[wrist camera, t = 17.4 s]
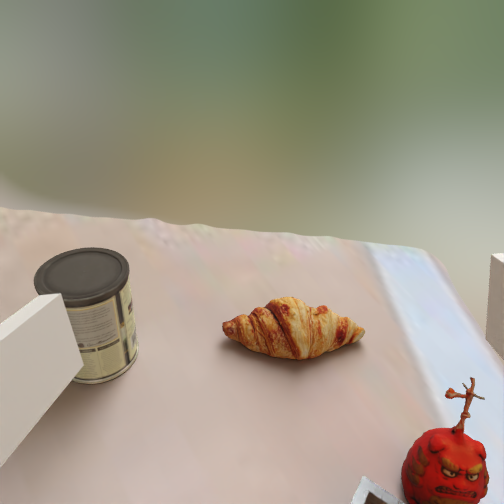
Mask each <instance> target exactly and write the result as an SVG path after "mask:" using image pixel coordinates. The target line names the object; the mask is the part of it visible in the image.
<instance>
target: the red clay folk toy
mask: <svg viewBox="0 0 504 504" xmlns="http://www.w3.org/2000/svg"><path fill="white" fill-rule="evenodd" d="M470 379H471V383H472V384H471V385H472V386H471V387H470V388H469V389H468V388H467V387H466V385H465V384H464V383H462V384H463V386H464V387H465V388H466V389H467V390H466V394H465V395H462V394H460V393H456V392H455V391H454V390H453V389H452V388H449V389H448V390H447V391H446V394H445V397H446V398H449V399H452V398H454V397H461V398H466V402H465V406H464V411H463V412H462V413H461V420H460V421H459V423H458V424H457V425H456V426H454V427H452V428H436V429H432V430H428V431H427V432H425V433H423V435H422V436H421V437H420V438H418V439H417V440H416V441H415V442H414V444H413V446H412V447H411V448H410V450H409V452H408V454H407V457H406V459H405V461H404V463H403V466H402V472H401V475H402V477H401V479H402V485H403V489H404V494H405V497H406V499H407V500H408V502H409V503H410V504H477V503H479V501H480V499H481V498H483V497H485V495H486V494H487V490H488V488H487V484H488V483H489V475H488V471H487V468H486V462H485V459H486V451H485V448H484V446H483V444H482V443H480V442H479V441H476V440H473V439H472V438H470V437H469V436H468V435H466V434H464V421H465V419H466V418H470V414H469V412H468V409H469V406H470V404H471V401H472V399H473V397H474V396H475V397H477V398H479V399H483V400H485V398H484V397H480V396H477V395H476V394H474V392H473V390H474V386H475V379H474V378H472V377H470Z"/></svg>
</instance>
